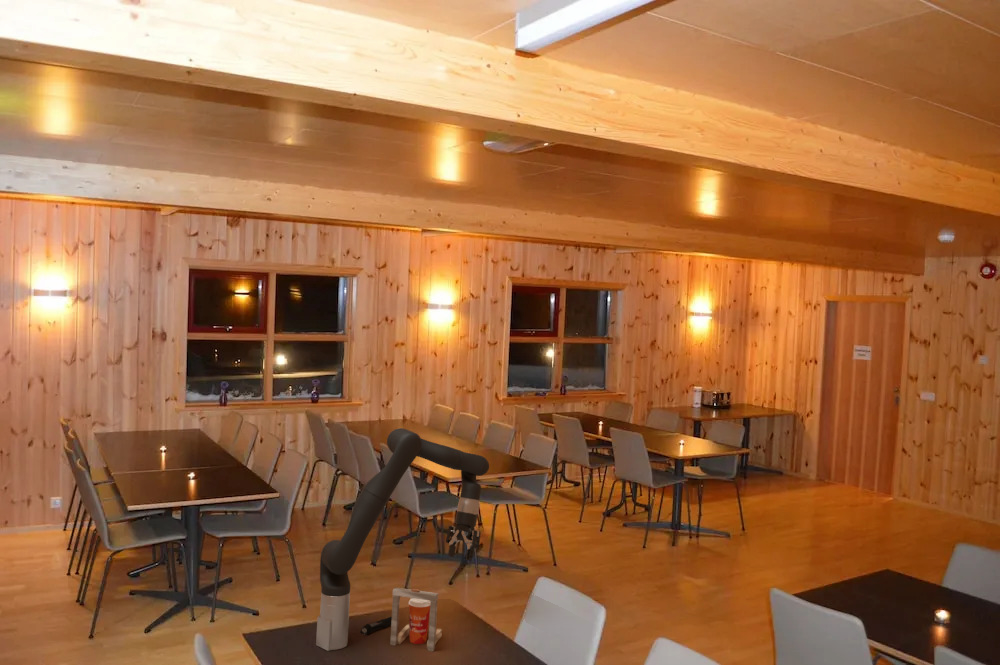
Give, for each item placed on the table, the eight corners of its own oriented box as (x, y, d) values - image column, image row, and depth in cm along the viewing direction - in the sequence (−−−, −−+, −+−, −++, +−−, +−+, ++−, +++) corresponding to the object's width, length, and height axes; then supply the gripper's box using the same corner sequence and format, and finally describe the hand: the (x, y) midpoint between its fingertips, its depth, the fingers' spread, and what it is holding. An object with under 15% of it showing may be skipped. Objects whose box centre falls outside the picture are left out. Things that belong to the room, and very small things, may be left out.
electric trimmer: (400, 625, 277) (400, 616, 277) (367, 636, 265) (367, 627, 265) (392, 622, 280) (393, 613, 280) (359, 633, 267) (360, 624, 267)
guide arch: (403, 630, 271) (406, 576, 271) (445, 637, 267) (448, 581, 267) (389, 645, 258) (392, 587, 258) (432, 652, 255) (435, 593, 255)
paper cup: (402, 643, 261) (404, 600, 260) (411, 634, 268) (414, 593, 268) (424, 647, 258) (426, 604, 258) (433, 638, 266) (435, 597, 265)
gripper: (446, 508, 283) (438, 554, 279) (474, 512, 273) (466, 560, 269) (460, 510, 288) (453, 556, 284) (489, 515, 278) (481, 562, 274)
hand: (459, 558), depth 277 cm, fingers open, 8 cm apart
